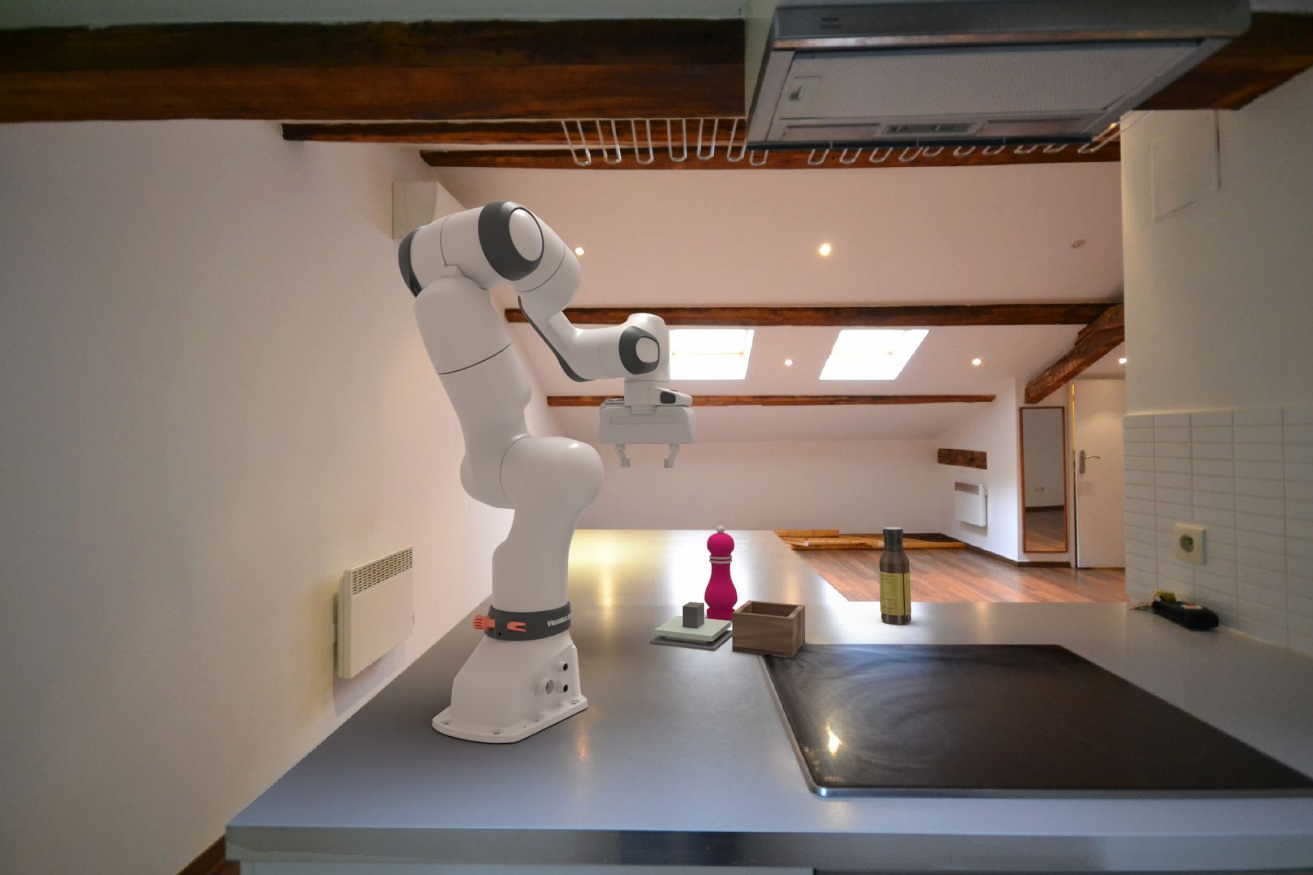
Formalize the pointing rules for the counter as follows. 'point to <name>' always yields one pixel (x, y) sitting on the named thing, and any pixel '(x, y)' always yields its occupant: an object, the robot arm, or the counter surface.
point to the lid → (693, 625)
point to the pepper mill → (720, 577)
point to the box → (768, 628)
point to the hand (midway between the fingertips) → (646, 467)
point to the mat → (695, 645)
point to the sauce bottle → (894, 579)
